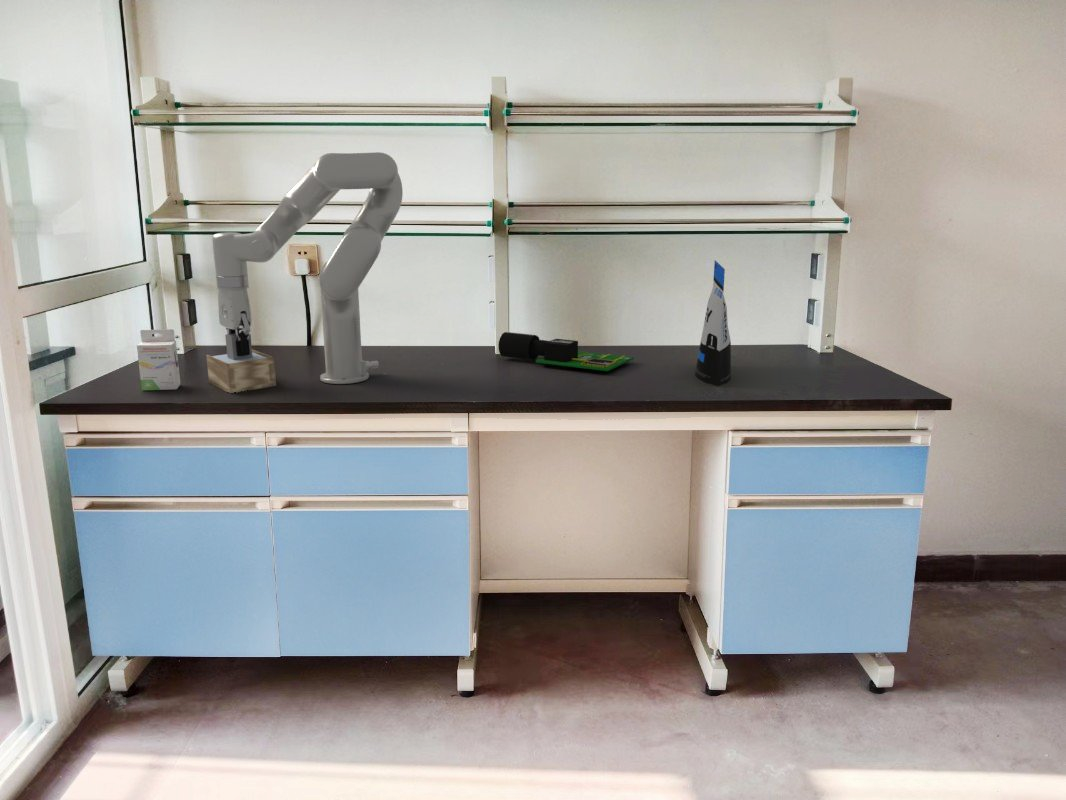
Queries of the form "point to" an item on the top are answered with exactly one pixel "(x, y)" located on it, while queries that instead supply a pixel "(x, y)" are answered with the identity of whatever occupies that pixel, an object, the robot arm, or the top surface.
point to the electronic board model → (556, 352)
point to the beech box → (242, 373)
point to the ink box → (158, 360)
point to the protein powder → (715, 336)
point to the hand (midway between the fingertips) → (239, 353)
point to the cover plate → (224, 358)
